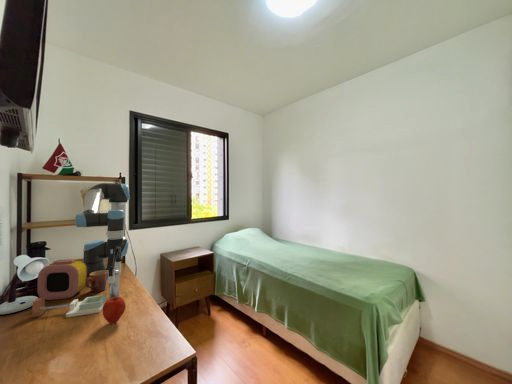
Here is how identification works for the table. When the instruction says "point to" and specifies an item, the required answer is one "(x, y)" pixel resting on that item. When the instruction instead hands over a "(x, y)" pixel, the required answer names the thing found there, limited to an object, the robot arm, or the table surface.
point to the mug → (97, 281)
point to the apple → (114, 309)
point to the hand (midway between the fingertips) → (114, 277)
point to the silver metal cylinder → (114, 285)
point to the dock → (86, 306)
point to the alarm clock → (62, 279)
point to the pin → (43, 307)
